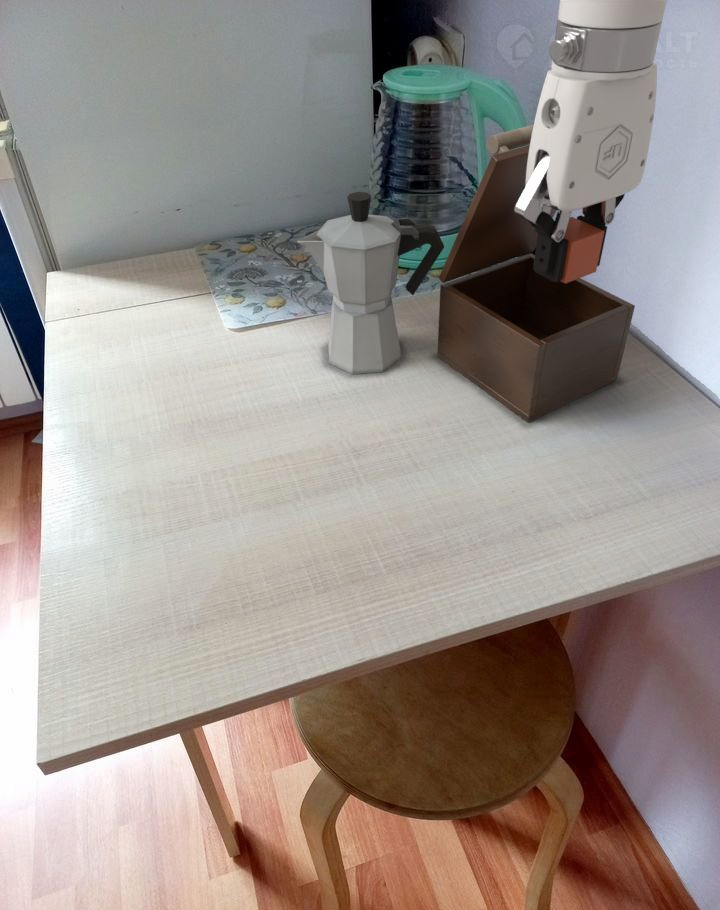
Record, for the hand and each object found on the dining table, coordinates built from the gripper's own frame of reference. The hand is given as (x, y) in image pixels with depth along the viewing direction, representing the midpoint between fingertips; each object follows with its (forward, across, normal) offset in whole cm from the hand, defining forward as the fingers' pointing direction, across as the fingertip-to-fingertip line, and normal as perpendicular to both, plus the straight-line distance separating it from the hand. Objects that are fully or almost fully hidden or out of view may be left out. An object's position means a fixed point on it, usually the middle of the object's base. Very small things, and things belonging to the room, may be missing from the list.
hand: (566, 267), depth 66 cm
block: (0, 0, 0) cm, 0 cm away
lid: (-3, 0, +7) cm, 8 cm away
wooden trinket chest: (+13, 0, +3) cm, 14 cm away
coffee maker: (+13, -12, +16) cm, 24 cm away
